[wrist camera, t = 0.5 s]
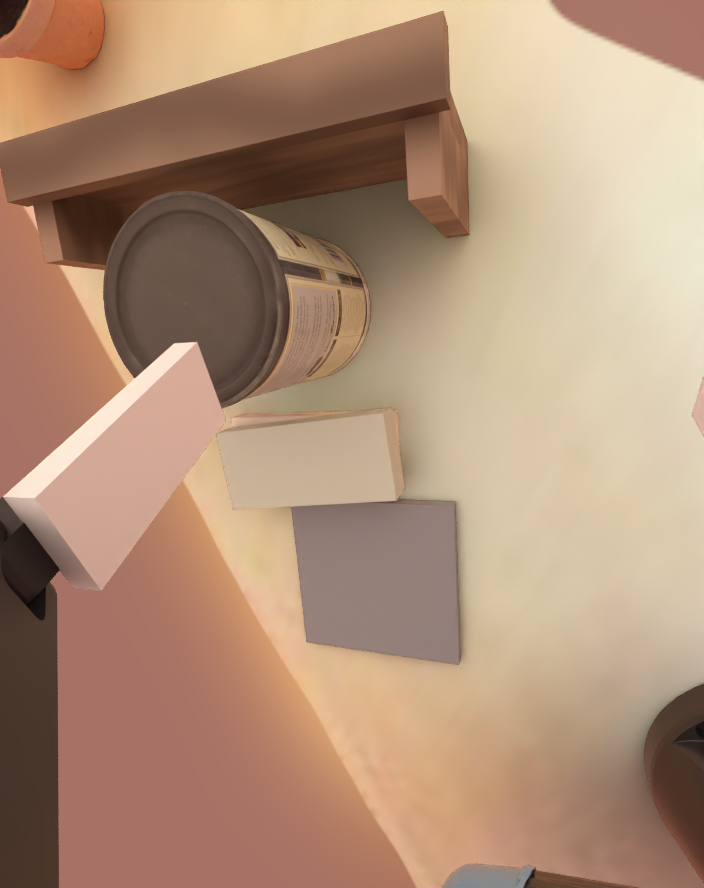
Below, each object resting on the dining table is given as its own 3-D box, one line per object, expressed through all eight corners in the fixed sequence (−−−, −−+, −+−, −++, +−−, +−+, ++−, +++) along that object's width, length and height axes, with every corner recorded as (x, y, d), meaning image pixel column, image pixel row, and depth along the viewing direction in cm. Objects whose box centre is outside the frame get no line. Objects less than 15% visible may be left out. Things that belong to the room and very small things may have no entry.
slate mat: (460, 656, 39) (459, 665, 38) (311, 635, 43) (306, 642, 43) (455, 501, 36) (453, 506, 35) (296, 495, 41) (290, 499, 40)
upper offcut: (405, 488, 35) (396, 500, 33) (249, 498, 40) (232, 509, 38) (392, 406, 34) (382, 413, 32) (234, 426, 39) (215, 433, 36)
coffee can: (239, 365, 40) (99, 387, 27) (253, 228, 37) (102, 178, 24) (359, 394, 37) (267, 433, 24) (384, 248, 34) (295, 203, 21)
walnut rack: (477, 233, 32) (449, 185, 20) (162, 278, 40) (20, 261, 29) (475, 125, 30) (443, 10, 19) (149, 195, 39) (-5, 144, 28)
